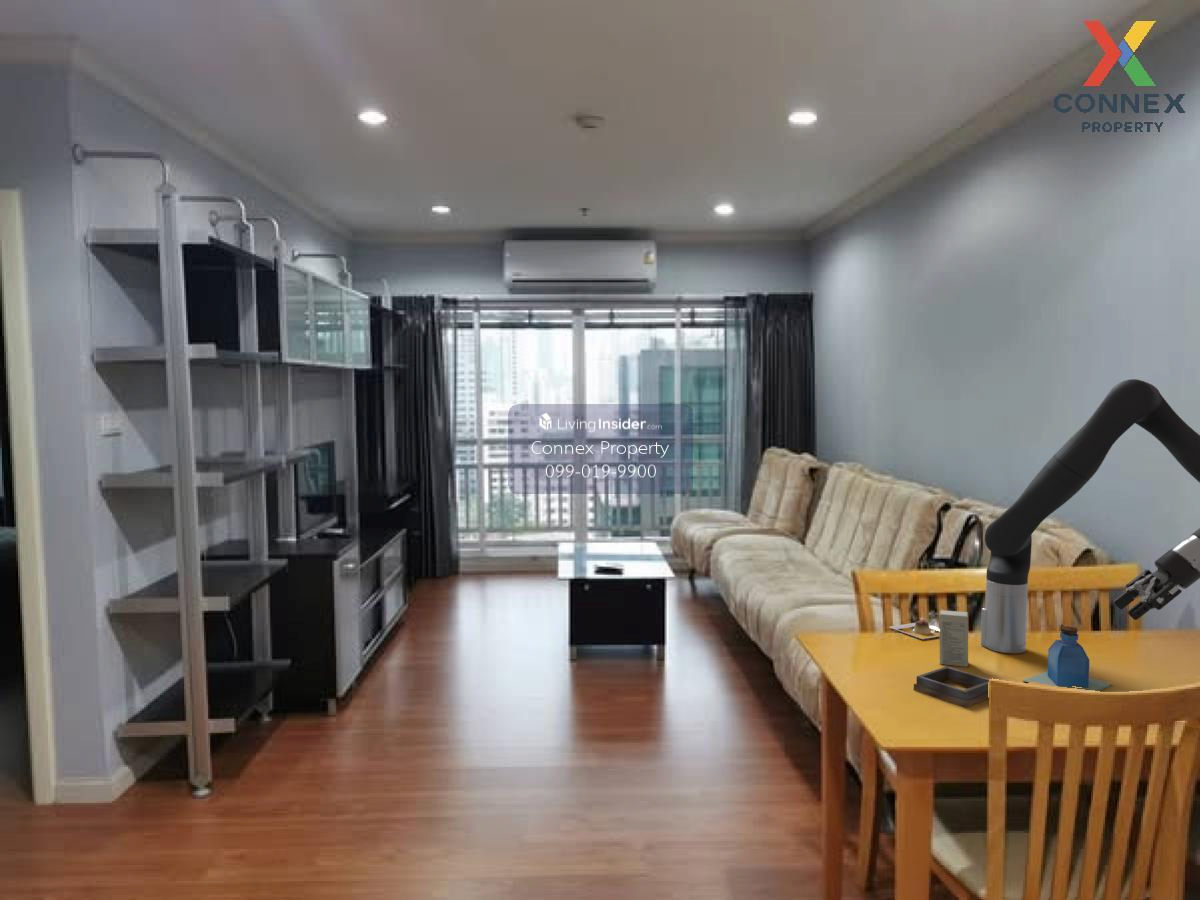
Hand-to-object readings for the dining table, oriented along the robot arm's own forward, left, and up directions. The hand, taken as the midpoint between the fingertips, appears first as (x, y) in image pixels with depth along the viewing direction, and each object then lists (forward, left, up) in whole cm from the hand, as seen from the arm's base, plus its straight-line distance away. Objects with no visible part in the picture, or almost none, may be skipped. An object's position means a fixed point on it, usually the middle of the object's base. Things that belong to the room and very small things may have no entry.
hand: (1123, 611), depth 170 cm
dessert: (-49, +2, -18) cm, 52 cm away
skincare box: (-30, -15, -17) cm, 37 cm away
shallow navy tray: (-19, -32, -17) cm, 41 cm away
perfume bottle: (-8, -6, -17) cm, 20 cm away
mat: (-8, -7, -17) cm, 20 cm away
